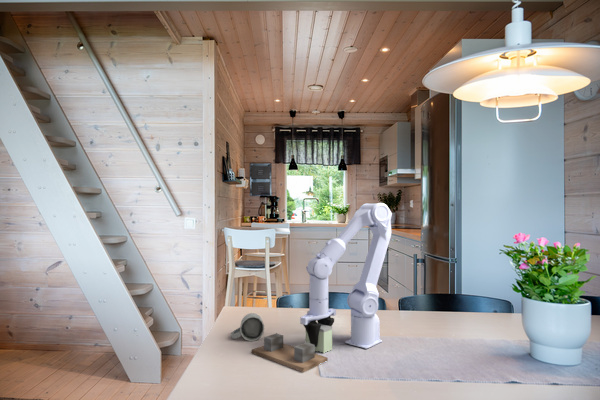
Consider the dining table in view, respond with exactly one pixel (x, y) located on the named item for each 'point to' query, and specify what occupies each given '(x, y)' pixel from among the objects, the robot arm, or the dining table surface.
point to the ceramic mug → (249, 328)
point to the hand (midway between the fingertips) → (318, 343)
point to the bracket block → (323, 339)
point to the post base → (289, 353)
